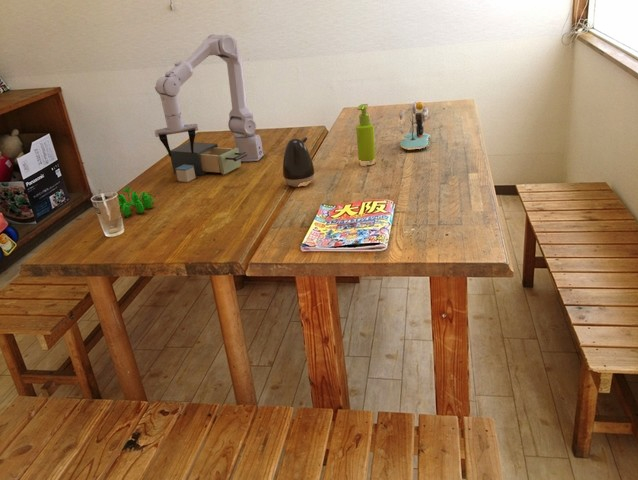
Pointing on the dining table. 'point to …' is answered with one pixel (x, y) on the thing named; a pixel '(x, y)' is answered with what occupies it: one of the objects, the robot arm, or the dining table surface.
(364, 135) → the soap dispenser
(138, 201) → the green lumpy piece
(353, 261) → the dining table surface
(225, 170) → the drawer
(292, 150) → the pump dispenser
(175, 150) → the cabinet
